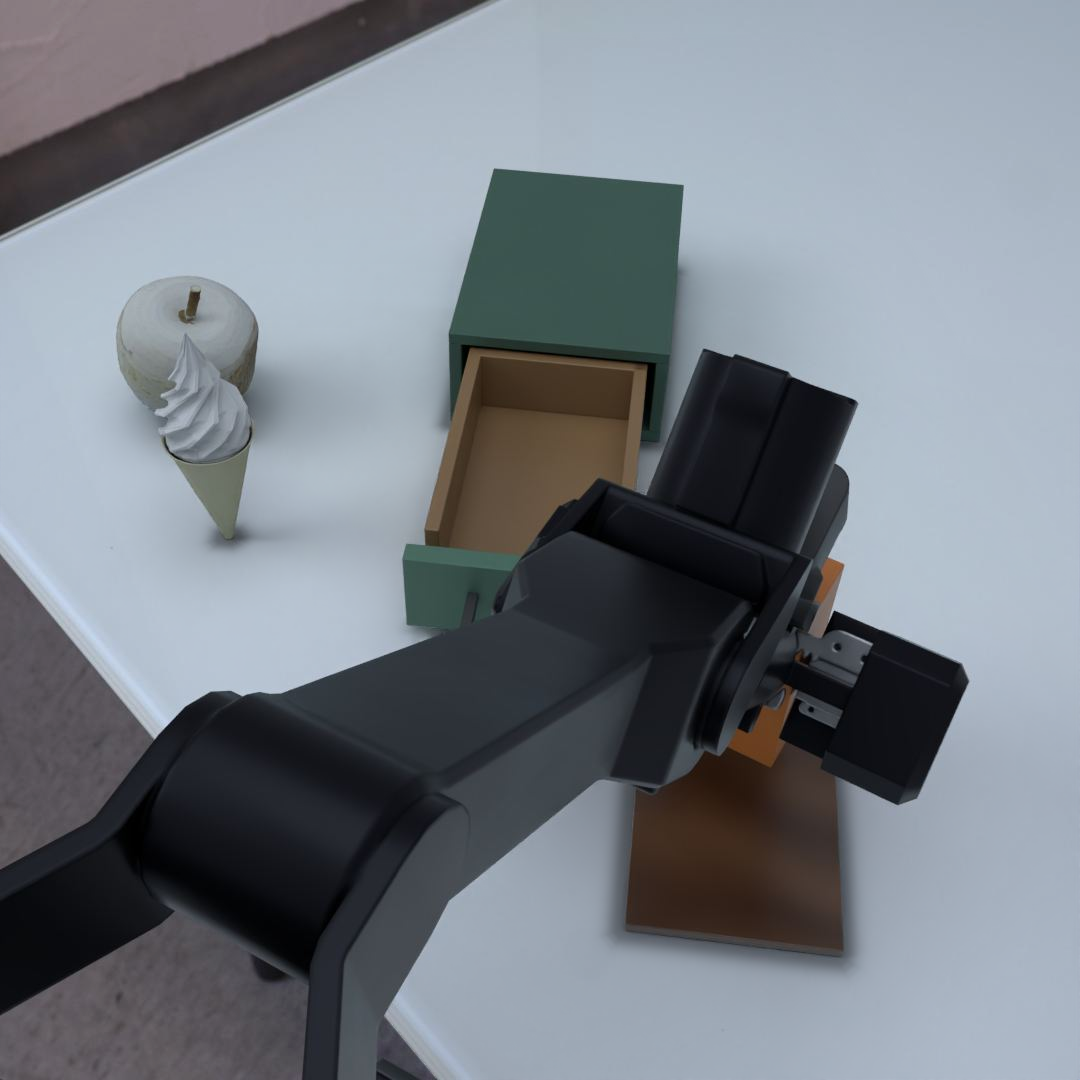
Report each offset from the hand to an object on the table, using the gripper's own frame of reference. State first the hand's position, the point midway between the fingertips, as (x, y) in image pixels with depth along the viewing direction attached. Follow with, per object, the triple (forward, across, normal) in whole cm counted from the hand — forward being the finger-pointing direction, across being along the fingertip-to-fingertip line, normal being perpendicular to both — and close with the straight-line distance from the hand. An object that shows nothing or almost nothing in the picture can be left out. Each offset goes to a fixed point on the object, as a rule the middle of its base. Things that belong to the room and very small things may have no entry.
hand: (766, 642), depth 64 cm
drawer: (+8, +16, +1) cm, 18 cm away
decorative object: (+8, +41, +2) cm, 42 cm away
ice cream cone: (+3, +32, +8) cm, 33 cm away
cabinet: (+22, +24, -12) cm, 35 cm away
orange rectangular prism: (+2, 0, +4) cm, 5 cm away
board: (+2, -2, +9) cm, 9 cm away
